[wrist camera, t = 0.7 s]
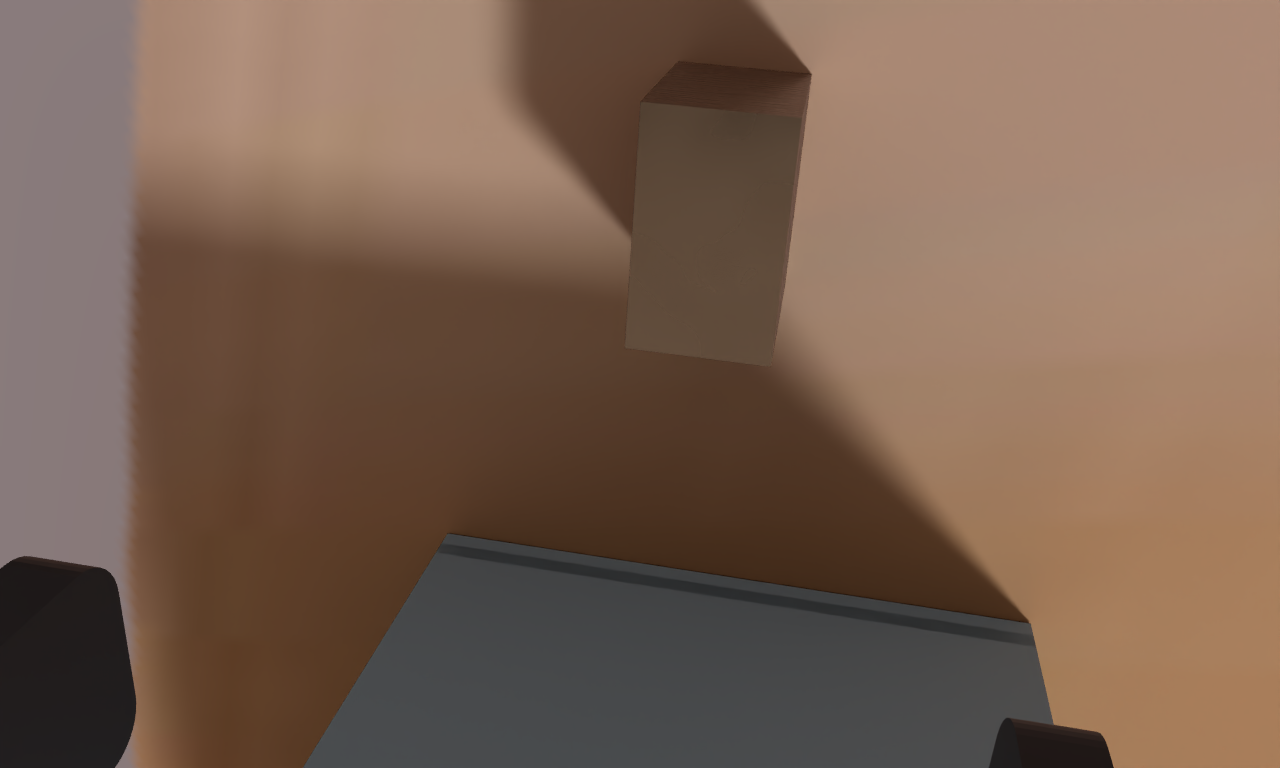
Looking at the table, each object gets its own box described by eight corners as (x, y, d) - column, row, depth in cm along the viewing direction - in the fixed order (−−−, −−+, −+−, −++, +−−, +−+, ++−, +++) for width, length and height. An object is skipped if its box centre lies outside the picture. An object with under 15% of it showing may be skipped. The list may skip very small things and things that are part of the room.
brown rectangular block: (811, 73, 25) (802, 117, 21) (784, 285, 27) (770, 367, 23) (678, 61, 25) (640, 101, 21) (662, 270, 28) (624, 347, 23)
